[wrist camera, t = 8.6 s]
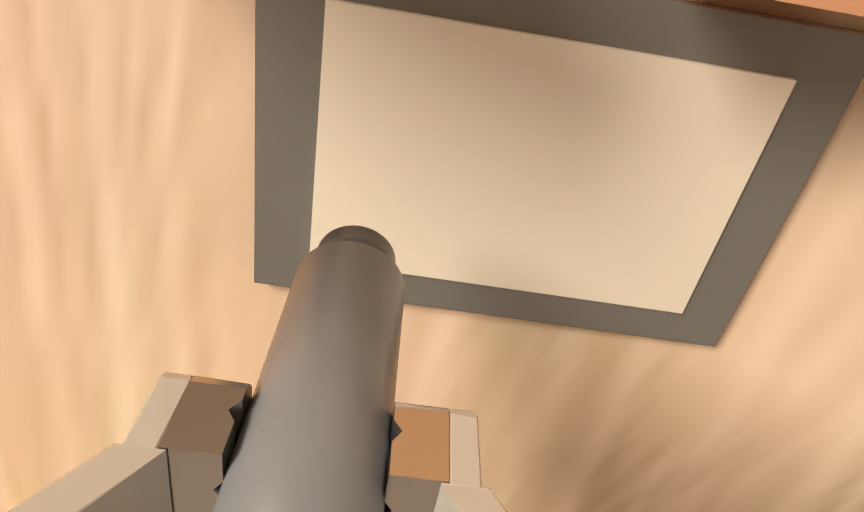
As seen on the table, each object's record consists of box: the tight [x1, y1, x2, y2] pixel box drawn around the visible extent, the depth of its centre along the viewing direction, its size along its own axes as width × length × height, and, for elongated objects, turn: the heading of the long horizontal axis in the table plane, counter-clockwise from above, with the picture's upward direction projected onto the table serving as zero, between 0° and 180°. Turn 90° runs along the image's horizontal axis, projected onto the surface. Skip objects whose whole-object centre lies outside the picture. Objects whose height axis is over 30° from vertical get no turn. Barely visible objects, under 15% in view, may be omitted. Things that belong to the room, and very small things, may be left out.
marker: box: [212, 225, 405, 512], centre depth 11 cm, size 3×3×11 cm
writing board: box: [254, 0, 864, 347], centre depth 21 cm, size 12×18×1 cm, turn 81°
